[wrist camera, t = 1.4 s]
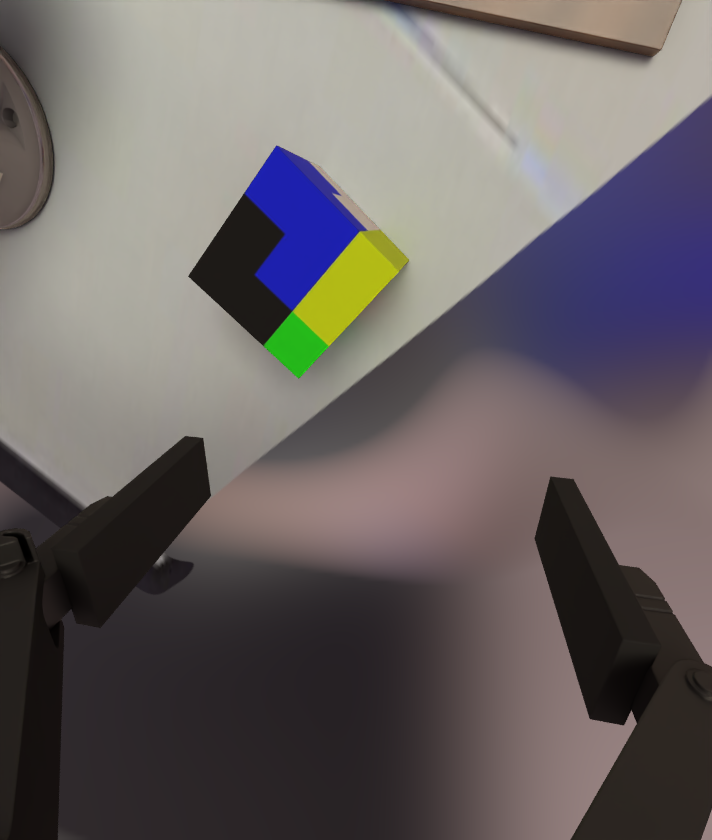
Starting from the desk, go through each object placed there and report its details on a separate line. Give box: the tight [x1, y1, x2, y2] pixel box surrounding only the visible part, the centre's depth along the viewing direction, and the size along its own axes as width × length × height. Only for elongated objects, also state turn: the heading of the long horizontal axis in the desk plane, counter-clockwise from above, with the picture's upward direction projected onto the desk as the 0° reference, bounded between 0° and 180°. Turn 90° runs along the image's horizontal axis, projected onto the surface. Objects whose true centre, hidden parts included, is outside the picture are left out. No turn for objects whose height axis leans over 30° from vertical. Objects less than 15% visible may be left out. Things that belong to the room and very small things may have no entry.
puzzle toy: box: [188, 145, 409, 379], centre depth 32 cm, size 10×10×10 cm
